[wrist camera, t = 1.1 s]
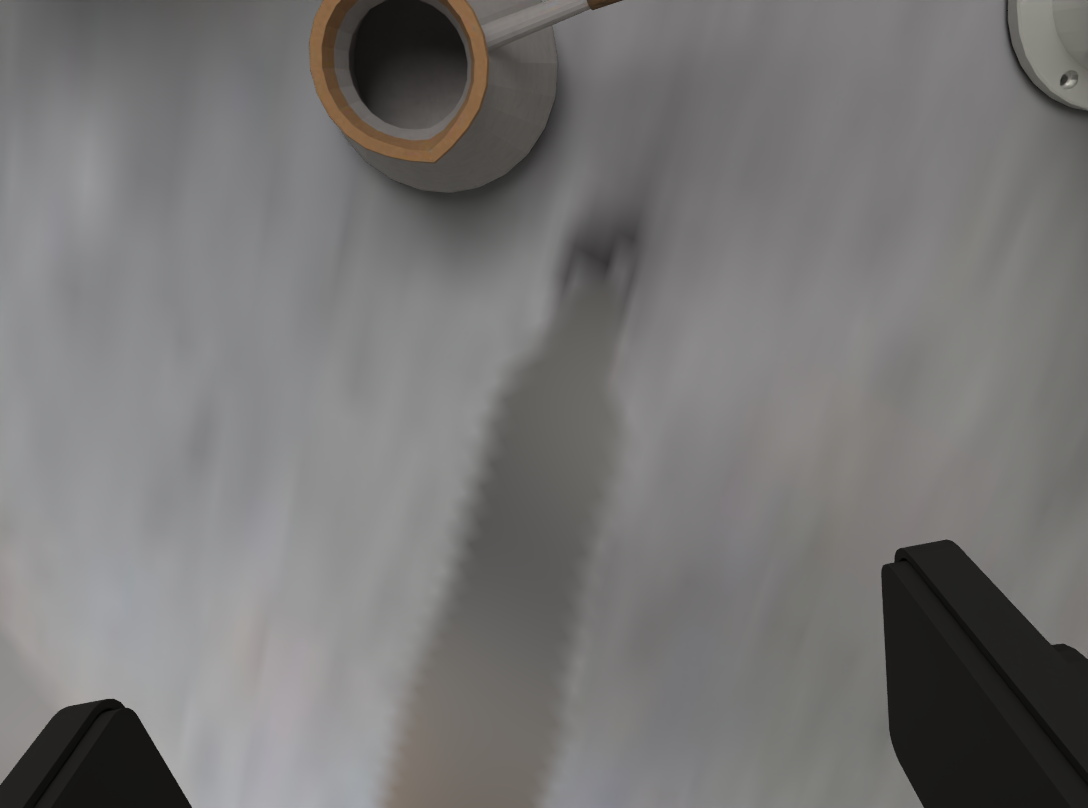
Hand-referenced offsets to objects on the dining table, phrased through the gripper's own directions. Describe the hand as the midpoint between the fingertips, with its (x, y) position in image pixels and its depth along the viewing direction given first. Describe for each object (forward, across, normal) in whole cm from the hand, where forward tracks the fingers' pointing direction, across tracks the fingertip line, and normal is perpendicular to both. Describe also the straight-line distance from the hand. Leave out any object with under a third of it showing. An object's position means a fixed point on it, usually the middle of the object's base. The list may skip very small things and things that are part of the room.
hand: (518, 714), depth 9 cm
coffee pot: (+35, -2, -9) cm, 36 cm away
